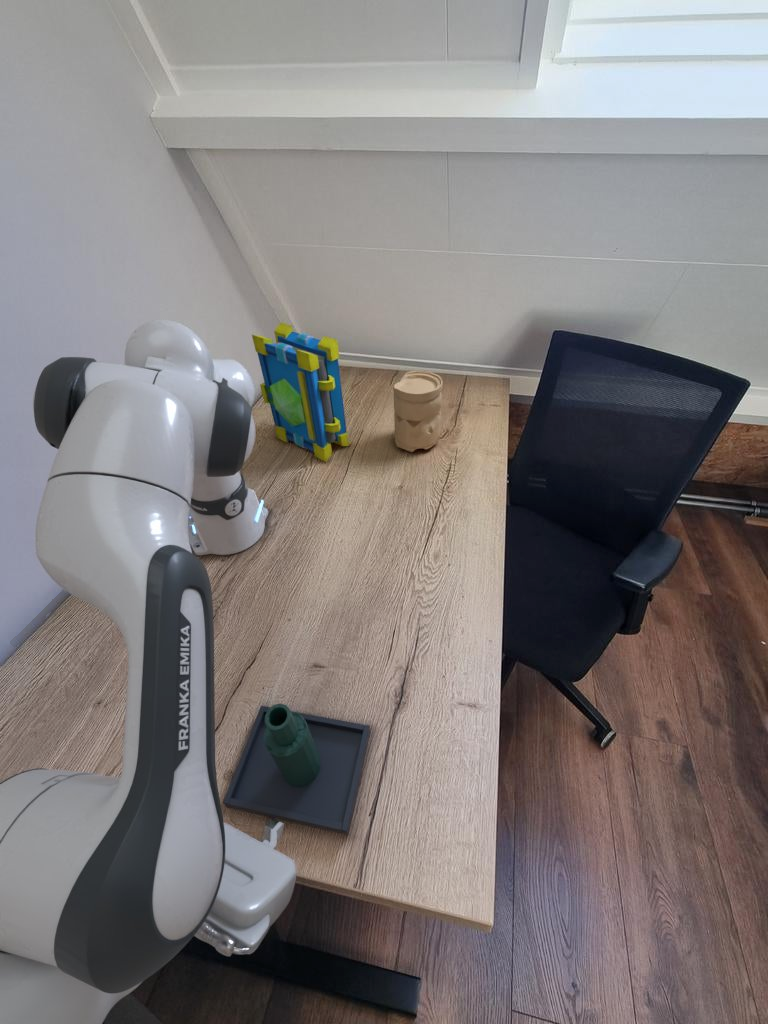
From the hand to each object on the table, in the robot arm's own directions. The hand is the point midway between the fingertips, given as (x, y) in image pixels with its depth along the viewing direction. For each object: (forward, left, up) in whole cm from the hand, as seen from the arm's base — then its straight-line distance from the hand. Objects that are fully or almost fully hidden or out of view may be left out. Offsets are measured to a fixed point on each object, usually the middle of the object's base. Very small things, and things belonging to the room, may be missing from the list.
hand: (241, 807), depth 51 cm
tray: (-4, +8, -13) cm, 16 cm away
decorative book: (-70, +62, -14) cm, 94 cm away
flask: (-4, +8, -13) cm, 16 cm away
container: (-48, +82, -14) cm, 96 cm away
